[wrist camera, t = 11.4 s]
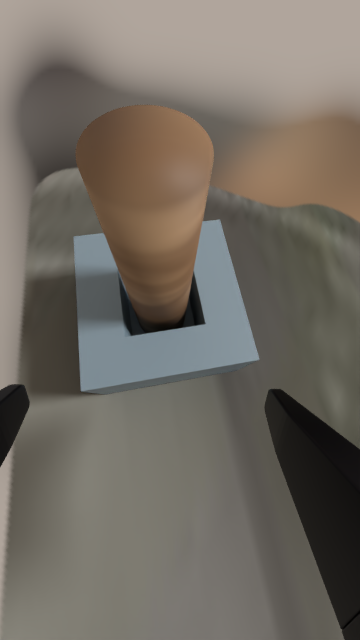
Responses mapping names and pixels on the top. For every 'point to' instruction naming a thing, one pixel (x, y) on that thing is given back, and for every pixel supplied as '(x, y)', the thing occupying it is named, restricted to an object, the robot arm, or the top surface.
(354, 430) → the top surface
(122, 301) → the hole block
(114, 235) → the walnut peg
